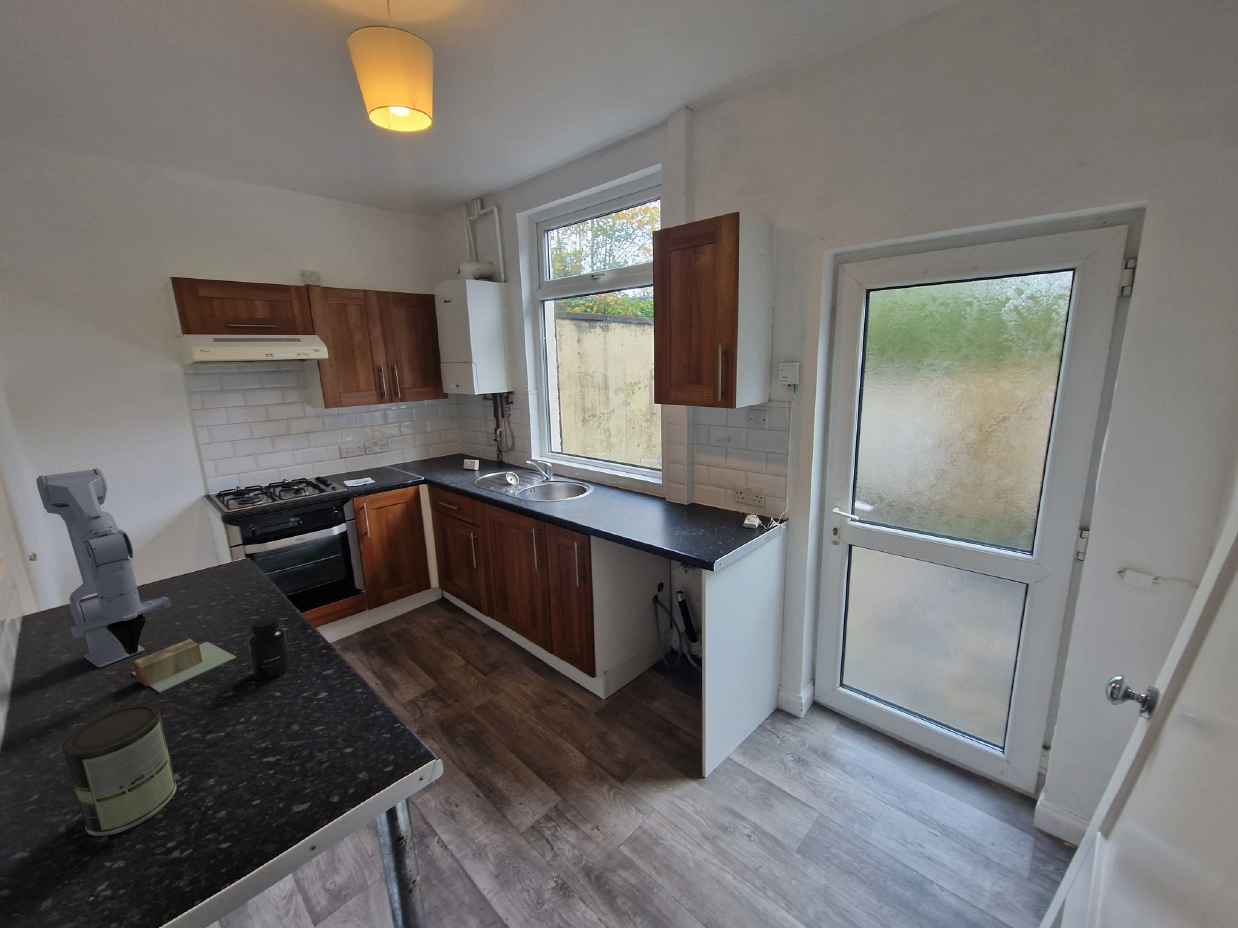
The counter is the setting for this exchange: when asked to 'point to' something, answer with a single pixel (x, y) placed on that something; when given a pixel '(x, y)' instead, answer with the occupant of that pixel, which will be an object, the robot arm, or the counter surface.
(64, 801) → the counter surface
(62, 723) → the counter surface
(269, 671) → the supplement bottle
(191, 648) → the maple block
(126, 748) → the coffee can
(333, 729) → the counter surface
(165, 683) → the mat
